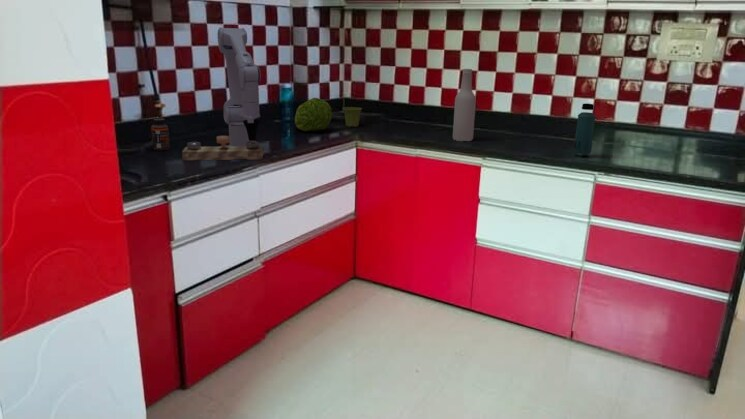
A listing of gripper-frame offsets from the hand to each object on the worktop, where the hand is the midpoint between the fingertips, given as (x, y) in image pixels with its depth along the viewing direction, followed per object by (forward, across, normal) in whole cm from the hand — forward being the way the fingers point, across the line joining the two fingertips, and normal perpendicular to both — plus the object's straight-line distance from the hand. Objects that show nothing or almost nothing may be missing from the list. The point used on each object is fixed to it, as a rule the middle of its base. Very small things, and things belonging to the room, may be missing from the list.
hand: (252, 140), depth 199 cm
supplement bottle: (+6, -16, -34) cm, 38 cm away
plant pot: (+6, -71, +45) cm, 84 cm away
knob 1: (+5, 0, -20) cm, 21 cm away
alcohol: (+6, -30, +88) cm, 94 cm away
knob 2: (+5, 0, 0) cm, 5 cm away
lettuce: (+6, -59, +25) cm, 64 cm away
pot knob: (+3, 0, -10) cm, 10 cm away
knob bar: (+6, 0, -10) cm, 12 cm away
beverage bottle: (+6, +6, +124) cm, 124 cm away
